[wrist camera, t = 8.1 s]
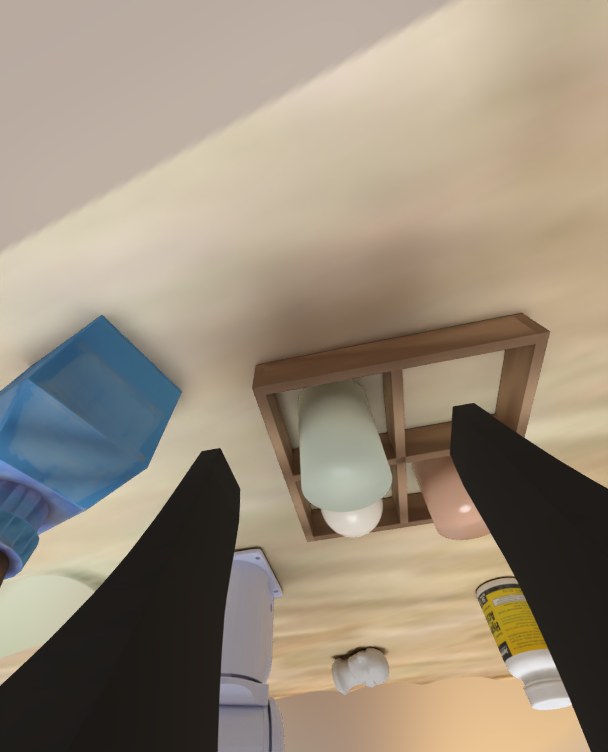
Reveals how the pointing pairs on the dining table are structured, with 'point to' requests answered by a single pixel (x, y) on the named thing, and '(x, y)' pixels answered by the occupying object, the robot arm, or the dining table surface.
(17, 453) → the perfume bottle
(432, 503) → the pink rounded cylinder
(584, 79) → the dining table surface
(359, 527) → the egg
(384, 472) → the sage green cylinder
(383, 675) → the smooth white sculpture
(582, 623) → the robot arm
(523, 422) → the wooden compartment tray
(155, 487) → the dining table surface
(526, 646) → the supplement bottle
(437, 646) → the dining table surface
